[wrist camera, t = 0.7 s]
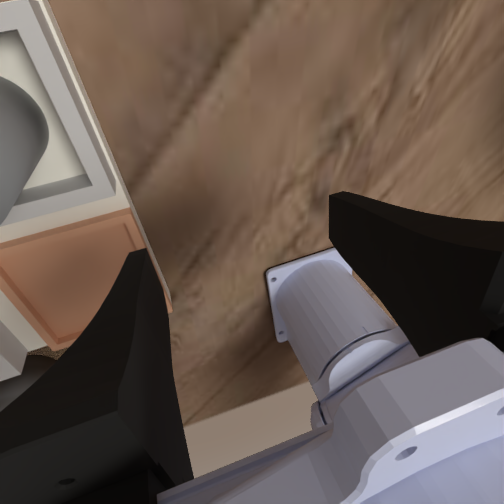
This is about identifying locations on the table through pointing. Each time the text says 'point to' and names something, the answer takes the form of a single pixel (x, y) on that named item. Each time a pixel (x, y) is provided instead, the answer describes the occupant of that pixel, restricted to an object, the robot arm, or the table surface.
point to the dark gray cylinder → (24, 378)
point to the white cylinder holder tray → (54, 193)
